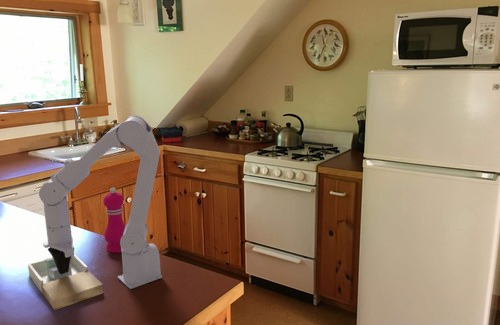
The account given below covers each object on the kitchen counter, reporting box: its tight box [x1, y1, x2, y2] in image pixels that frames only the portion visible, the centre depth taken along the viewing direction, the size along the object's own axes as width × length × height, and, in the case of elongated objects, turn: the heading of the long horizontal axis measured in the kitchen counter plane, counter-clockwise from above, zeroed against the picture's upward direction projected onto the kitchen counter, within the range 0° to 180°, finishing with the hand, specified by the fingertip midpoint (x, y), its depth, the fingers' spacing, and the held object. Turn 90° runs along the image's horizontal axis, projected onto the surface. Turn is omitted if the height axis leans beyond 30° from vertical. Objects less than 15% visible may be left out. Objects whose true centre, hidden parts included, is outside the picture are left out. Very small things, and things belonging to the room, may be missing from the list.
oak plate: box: [41, 269, 104, 311], centre depth 112 cm, size 12×10×2 cm
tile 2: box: [49, 265, 72, 280], centre depth 118 cm, size 4×4×2 cm
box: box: [27, 253, 89, 293], centre depth 120 cm, size 12×12×4 cm
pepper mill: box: [103, 187, 126, 254], centre depth 136 cm, size 7×7×20 cm
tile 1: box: [44, 256, 56, 276], centre depth 121 cm, size 4×4×2 cm
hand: (63, 272), depth 116 cm, fingers closed
